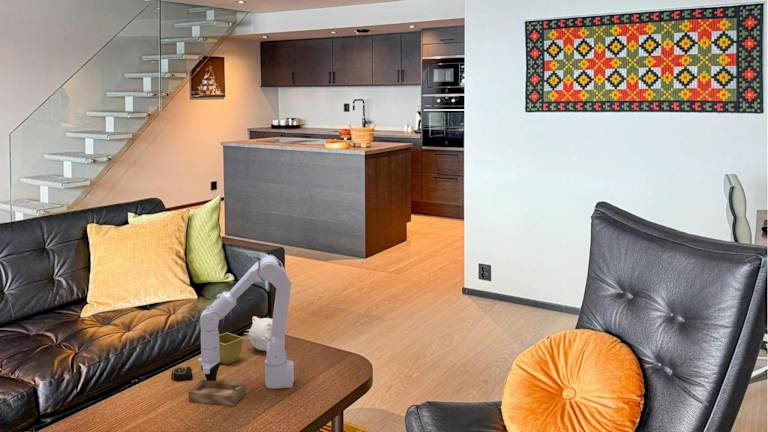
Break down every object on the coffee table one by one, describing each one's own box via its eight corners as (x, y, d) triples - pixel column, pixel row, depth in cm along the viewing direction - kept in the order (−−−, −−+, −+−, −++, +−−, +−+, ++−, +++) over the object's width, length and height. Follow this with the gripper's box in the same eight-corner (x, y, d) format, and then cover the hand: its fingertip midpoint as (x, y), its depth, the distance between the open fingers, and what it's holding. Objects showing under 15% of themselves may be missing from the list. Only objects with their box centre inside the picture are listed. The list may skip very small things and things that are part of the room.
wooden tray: (245, 393, 216) (245, 382, 216) (234, 406, 208) (233, 394, 207) (201, 388, 219) (201, 377, 218) (188, 401, 210) (188, 390, 210)
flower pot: (227, 354, 249) (227, 331, 247) (244, 360, 244) (243, 337, 242) (209, 362, 242) (208, 338, 240) (225, 368, 237) (224, 344, 235)
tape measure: (193, 383, 226) (192, 373, 225) (171, 386, 223) (171, 375, 223) (192, 375, 232) (191, 365, 231) (171, 377, 230) (170, 367, 229)
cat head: (293, 349, 255) (292, 318, 253) (267, 359, 245) (266, 328, 243) (266, 339, 264) (265, 309, 262) (240, 349, 254) (239, 318, 252)
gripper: (202, 337, 224) (203, 376, 226) (192, 355, 209) (194, 395, 212) (224, 337, 224) (225, 375, 227) (215, 355, 210) (216, 395, 212)
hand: (211, 385), depth 219 cm, fingers closed
